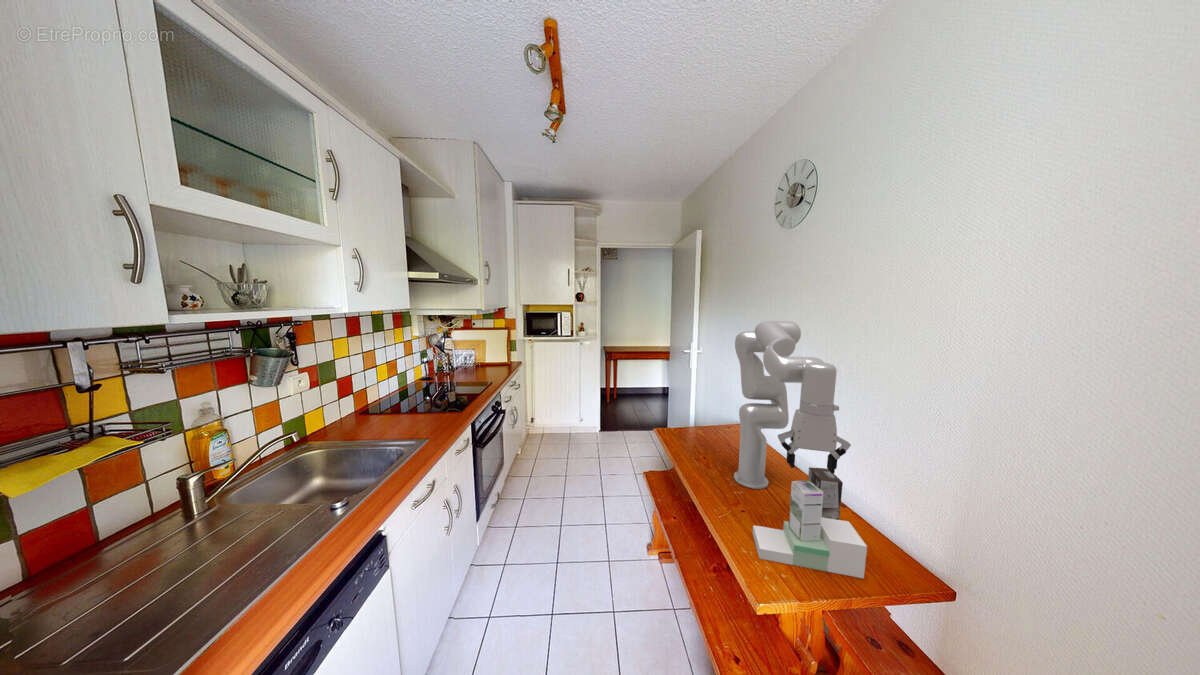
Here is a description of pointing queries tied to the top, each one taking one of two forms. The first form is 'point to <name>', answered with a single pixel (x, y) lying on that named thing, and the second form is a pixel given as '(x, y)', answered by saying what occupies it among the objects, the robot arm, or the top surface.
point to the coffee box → (827, 491)
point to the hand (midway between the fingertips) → (810, 468)
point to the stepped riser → (815, 548)
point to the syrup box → (805, 510)
